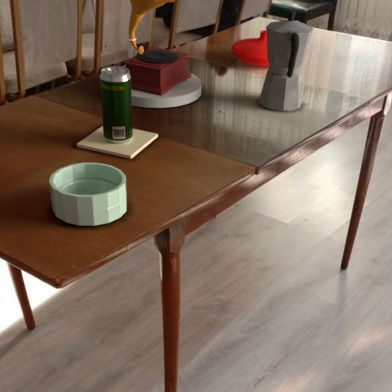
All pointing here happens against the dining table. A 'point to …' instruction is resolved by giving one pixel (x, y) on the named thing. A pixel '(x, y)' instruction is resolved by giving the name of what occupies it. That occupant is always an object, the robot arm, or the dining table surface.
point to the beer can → (116, 104)
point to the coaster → (122, 150)
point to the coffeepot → (285, 63)
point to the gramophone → (158, 68)
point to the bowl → (88, 193)
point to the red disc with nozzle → (252, 50)
